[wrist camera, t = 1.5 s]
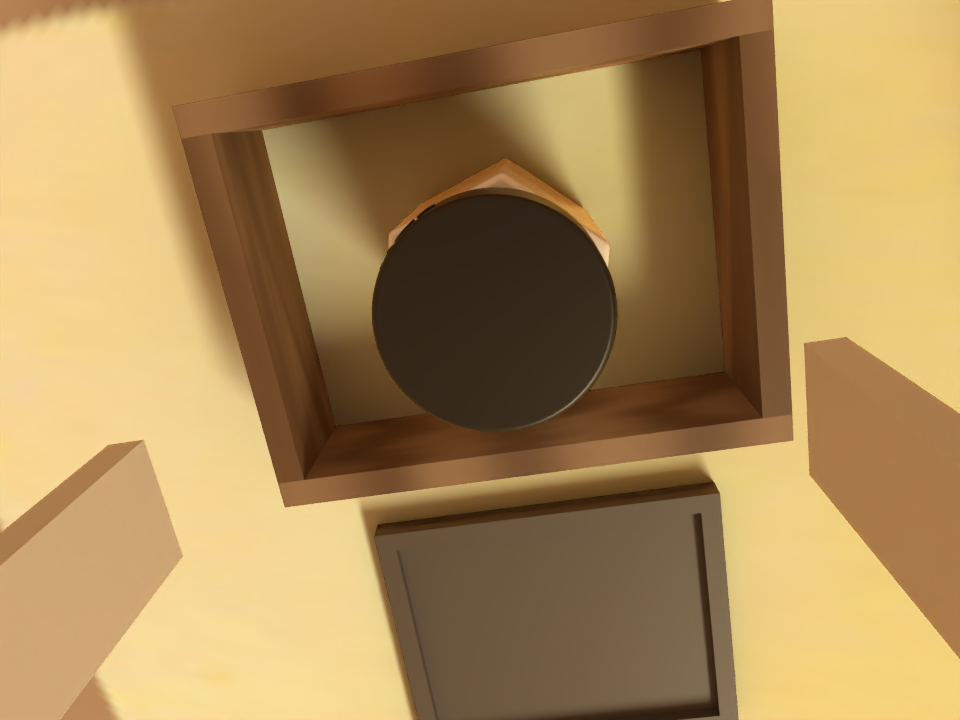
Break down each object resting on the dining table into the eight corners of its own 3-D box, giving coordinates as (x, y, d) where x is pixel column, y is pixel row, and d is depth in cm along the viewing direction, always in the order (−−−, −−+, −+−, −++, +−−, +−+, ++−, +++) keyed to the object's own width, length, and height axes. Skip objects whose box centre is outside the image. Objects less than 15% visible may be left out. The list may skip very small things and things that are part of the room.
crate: (727, 14, 32) (771, -8, 26) (751, 390, 37) (793, 440, 32) (229, 108, 34) (172, 106, 29) (318, 450, 39) (284, 507, 34)
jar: (417, 154, 35) (366, 174, 23) (594, 161, 34) (631, 185, 23) (415, 340, 37) (369, 439, 26) (578, 348, 37) (605, 452, 26)
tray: (713, 482, 39) (719, 493, 38) (733, 712, 43) (739, 728, 42) (378, 524, 41) (373, 536, 40) (430, 741, 45) (427, 757, 44)
